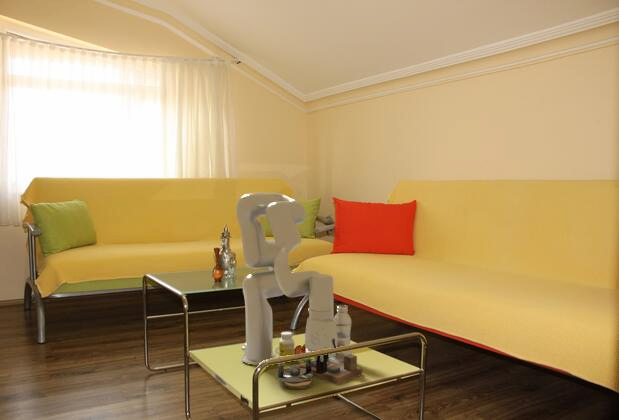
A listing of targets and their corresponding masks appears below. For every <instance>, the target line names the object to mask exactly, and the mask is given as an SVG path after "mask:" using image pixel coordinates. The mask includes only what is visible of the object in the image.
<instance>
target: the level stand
mask: <svg viewBox="0 0 619 420" xmlns="http://www.w3.org/2000/svg"><path fill="white" fill-rule="evenodd" d="M311 364H312V372H313V377H315V378H319V379H322V380H324V381H327V382H330V383H333V384H336V385H339V384H342V383H344V381H345V382H347V381H349V379H350V380H352V379H354V377H355V378H357V377H360V376H362V375H363V368H361V367H358V356H357V355H355V354H353V353H352V354H348V355H345V356H344V363H342V362H338V361H335V360H334V359H332V358H329V359H328V360H327V372H326V373H323V374H319V373H316V360H315V358H314V359H311ZM298 365H299V366H300V368H304V369H306V361H305V362H302V363H299V364H298ZM359 375H360V376H359Z"/></svg>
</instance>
